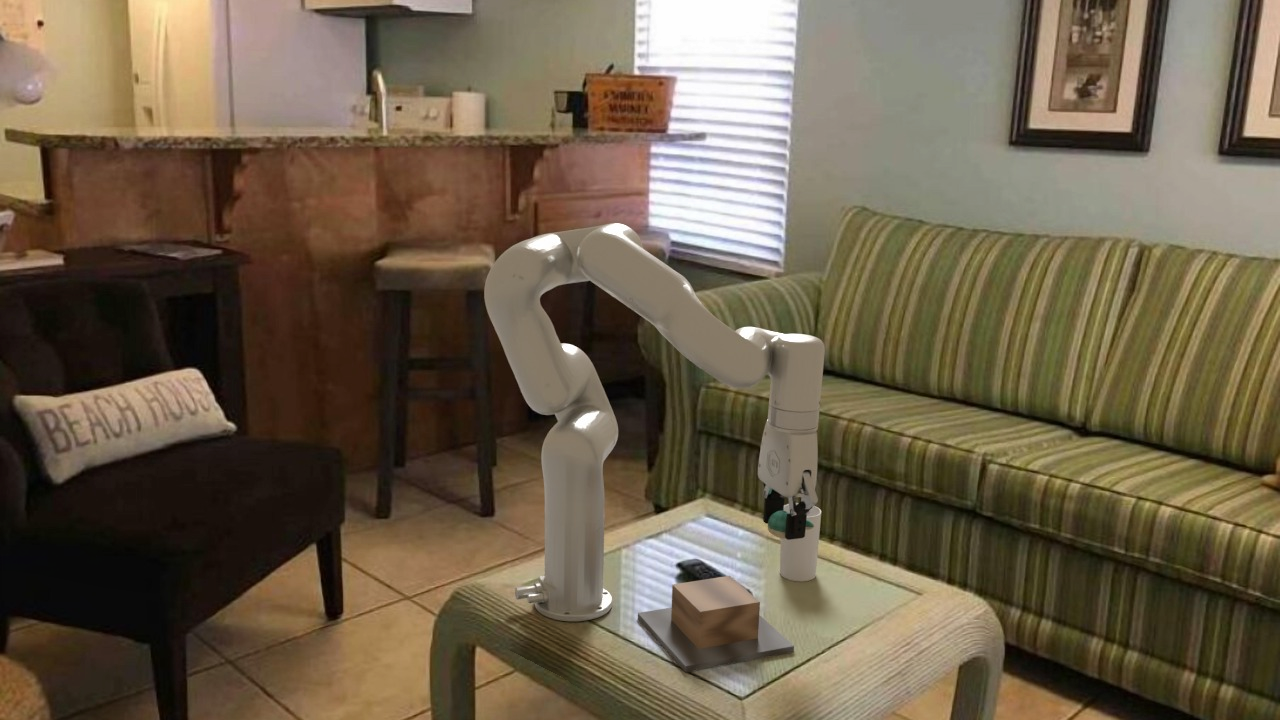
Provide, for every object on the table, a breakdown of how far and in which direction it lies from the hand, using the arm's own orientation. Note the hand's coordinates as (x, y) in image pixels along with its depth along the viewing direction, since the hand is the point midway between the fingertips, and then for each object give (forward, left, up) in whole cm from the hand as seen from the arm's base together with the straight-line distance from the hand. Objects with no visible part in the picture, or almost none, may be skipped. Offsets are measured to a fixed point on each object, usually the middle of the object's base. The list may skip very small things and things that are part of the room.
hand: (783, 528), depth 170 cm
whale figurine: (+1, 0, -1) cm, 2 cm away
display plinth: (-10, +2, -17) cm, 20 cm away
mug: (+14, +19, -17) cm, 29 cm away
